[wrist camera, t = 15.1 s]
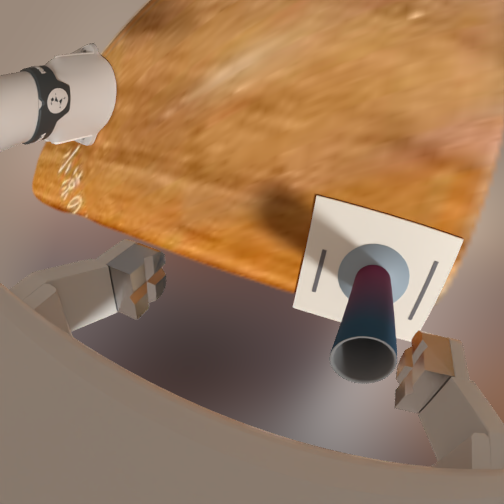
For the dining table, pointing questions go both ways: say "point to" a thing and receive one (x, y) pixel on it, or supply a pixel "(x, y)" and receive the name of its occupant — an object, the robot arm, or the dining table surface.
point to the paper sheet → (373, 262)
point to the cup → (367, 330)
